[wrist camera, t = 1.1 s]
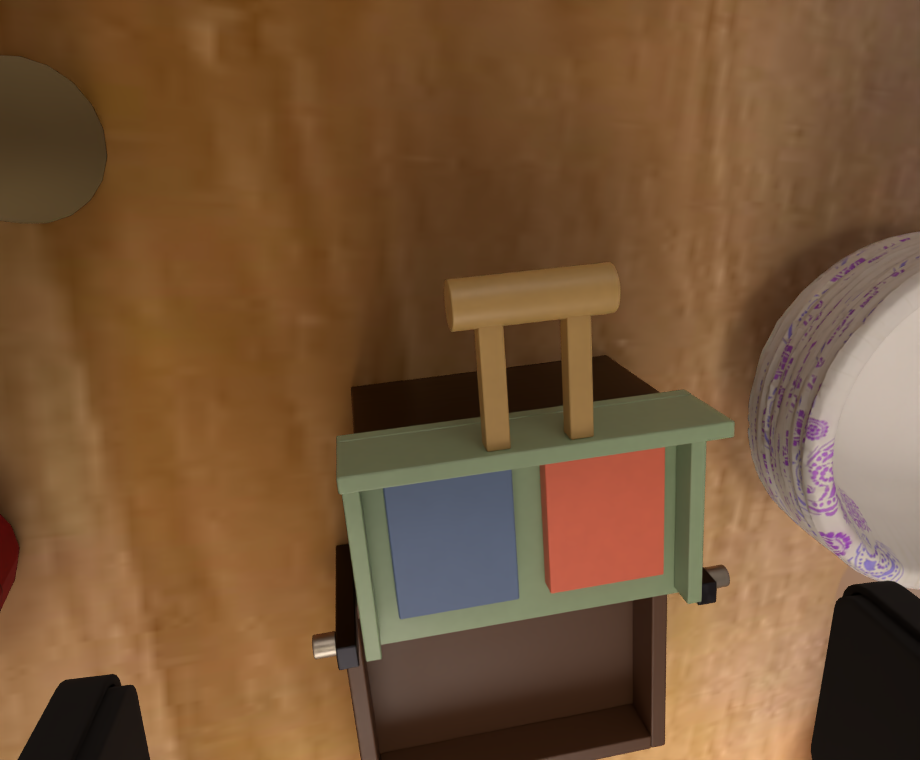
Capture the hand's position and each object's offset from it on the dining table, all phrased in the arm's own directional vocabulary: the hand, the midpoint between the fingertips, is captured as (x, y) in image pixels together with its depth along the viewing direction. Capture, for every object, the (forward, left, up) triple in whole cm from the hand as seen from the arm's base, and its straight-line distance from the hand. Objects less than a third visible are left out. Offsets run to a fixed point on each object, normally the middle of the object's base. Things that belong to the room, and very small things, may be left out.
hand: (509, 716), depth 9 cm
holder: (-4, +17, -23) cm, 29 cm away
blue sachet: (-1, +6, -16) cm, 17 cm away
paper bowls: (-23, +5, -23) cm, 33 cm away
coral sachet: (-7, +6, -16) cm, 18 cm away
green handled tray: (-4, +4, -16) cm, 17 cm away
